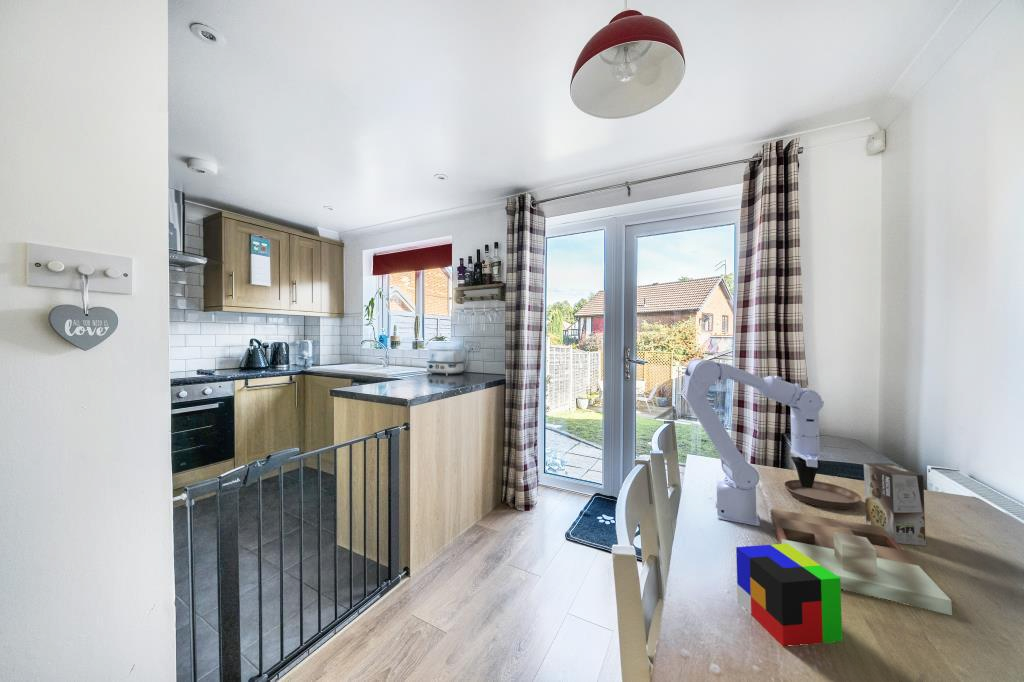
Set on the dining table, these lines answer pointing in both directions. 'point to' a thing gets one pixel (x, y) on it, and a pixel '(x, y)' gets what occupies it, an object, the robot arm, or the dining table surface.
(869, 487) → the coffee box
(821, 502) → the plant saucer
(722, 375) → the robot arm
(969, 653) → the dining table surface
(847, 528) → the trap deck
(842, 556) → the block
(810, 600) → the puzzle toy
